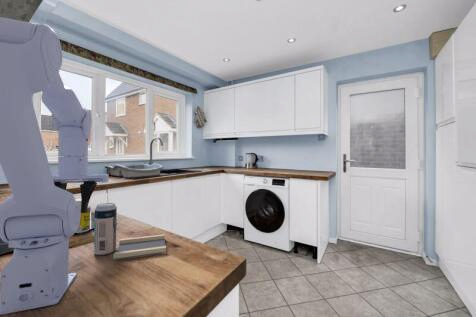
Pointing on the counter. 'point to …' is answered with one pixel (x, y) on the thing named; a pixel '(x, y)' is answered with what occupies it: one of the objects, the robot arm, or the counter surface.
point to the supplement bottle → (84, 219)
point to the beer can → (105, 228)
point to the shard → (79, 240)
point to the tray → (140, 247)
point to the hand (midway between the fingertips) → (73, 212)
